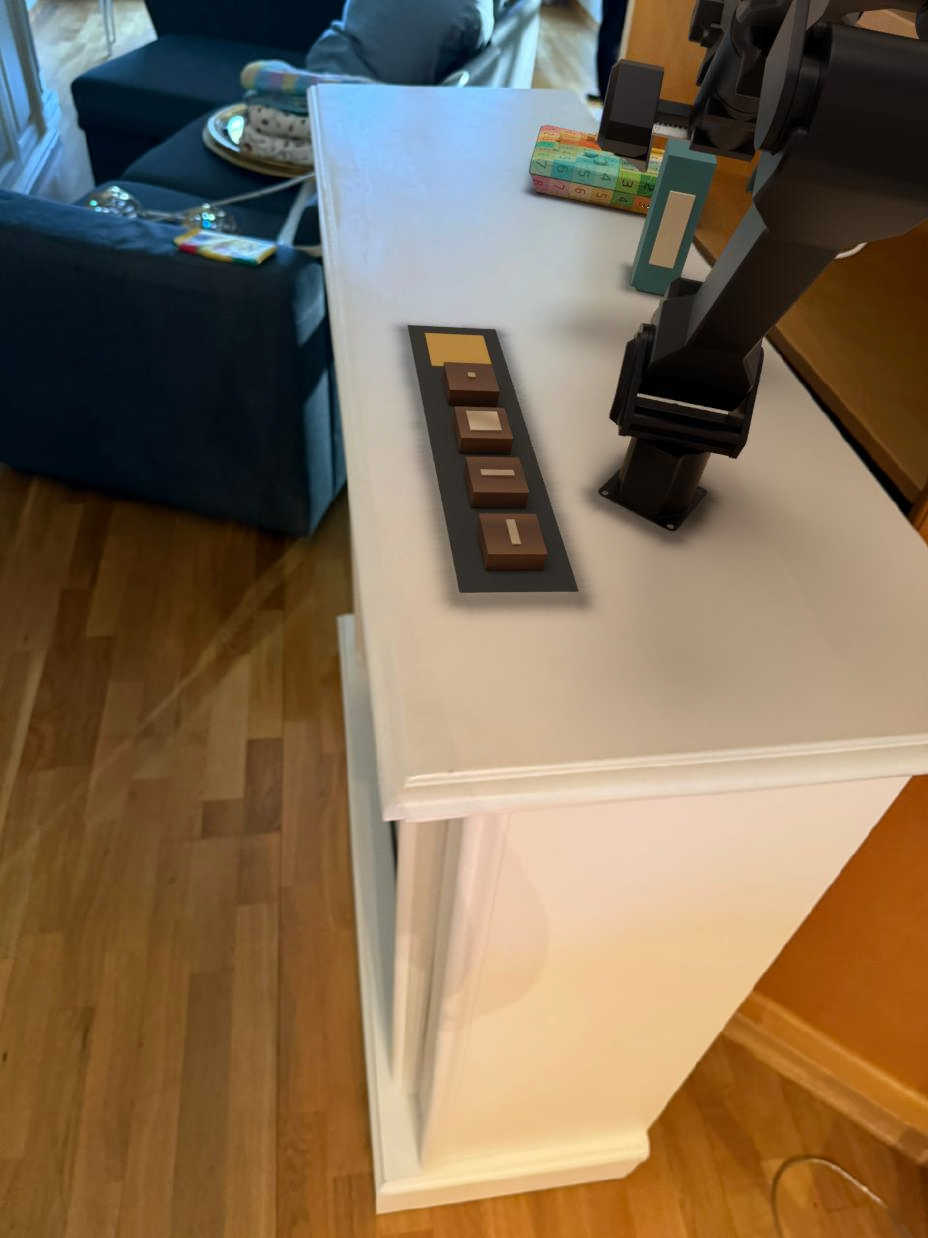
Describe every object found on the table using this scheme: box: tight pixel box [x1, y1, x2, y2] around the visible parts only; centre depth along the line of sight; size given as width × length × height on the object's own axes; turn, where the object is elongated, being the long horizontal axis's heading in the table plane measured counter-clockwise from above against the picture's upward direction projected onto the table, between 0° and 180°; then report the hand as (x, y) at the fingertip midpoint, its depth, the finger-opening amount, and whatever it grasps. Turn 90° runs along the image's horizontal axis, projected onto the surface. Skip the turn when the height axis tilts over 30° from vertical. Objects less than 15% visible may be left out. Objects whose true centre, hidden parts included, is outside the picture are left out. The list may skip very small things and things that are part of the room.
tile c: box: [452, 406, 513, 454], centre depth 69 cm, size 4×4×2 cm
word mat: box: [407, 324, 579, 594], centre depth 69 cm, size 33×8×1 cm, turn 8°
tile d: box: [442, 362, 500, 407], centre depth 73 cm, size 4×4×2 cm
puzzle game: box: [528, 124, 665, 215], centre depth 106 cm, size 12×5×20 cm
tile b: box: [463, 457, 529, 508], centre depth 64 cm, size 4×4×2 cm
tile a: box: [476, 513, 548, 570], centre depth 60 cm, size 4×4×2 cm
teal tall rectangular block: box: [630, 138, 718, 296], centre depth 88 cm, size 5×4×13 cm
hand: (696, 177), depth 78 cm, fingers open, 9 cm apart
